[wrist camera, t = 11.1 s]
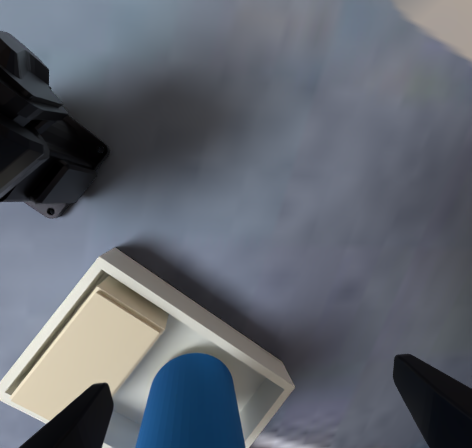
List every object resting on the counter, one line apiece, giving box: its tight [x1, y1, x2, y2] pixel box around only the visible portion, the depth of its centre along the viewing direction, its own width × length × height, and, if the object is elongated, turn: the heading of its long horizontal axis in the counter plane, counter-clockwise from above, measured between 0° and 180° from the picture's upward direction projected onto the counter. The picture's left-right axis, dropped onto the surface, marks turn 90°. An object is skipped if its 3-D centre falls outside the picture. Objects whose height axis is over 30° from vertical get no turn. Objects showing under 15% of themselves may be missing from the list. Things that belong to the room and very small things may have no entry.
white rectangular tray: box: [0, 248, 295, 448], centre depth 18 cm, size 17×11×3 cm, turn 52°
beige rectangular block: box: [9, 275, 169, 421], centre depth 17 cm, size 5×8×4 cm, turn 142°
